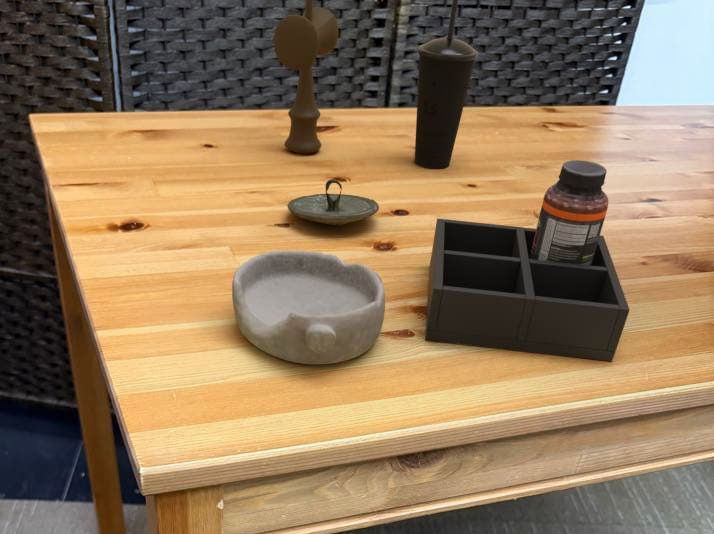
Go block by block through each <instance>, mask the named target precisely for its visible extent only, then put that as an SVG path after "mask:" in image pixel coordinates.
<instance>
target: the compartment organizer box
mask: <svg viewBox="0 0 714 534" xmlns="http://www.w3.org/2000/svg"><path fill="white" fill-rule="evenodd" d="M536 229H537V228H532V227H524V226H516V225H515V226H514V225H505V224H495V223H486V222H485V223H484V222H475V221H467V220H458V219H457V220H456V219H447V218H445V219H444V218H436V222H435V230H434V236H433V242H432V249H431V253H430V254H431V255H430V262H429V270H428V271H429V272H428V286H427V287H428V289H427V304H426V319H425V320H426V321H425V334H424V335H425V337H424V340H425V341H428V342H429V341H430V342H437V343H446V344H456V345H463V346H471V347H472V346H473V347H481V348H490V349H499V350H506V351H515V350H516V351H517V352H525V353H534V354H543V355H551V356H560V357H561V356H562V357H569V358H577V359H586V360H587V359H588V360H595V361H604V362H613V360H614V357H615V355H616V351H617V348H618V345H619V343H620V339H621V337H622V334H623V332H624V331H623V330H624V328H625V325H626V322H627V319H628V316H629V313H630V307H629V304H628V301H627V299H626V296H625V293H624V290H623V286H622V284H621V282H620V279H619V276H618V273H617V271H616V270H617V269H616V268H615V265H614V262H613V259H612V256H611V254H610V250H609V248H608V245H607V242H606V239H605V237H604V235H602V234H600V237H599V240H598V243H597V247H596V250H595V253H594V257H593V260H592V264H591V266H590V265H580V264H571V263H562V262H552V261H543V260H534V259H530V254H531V250H532V246H533V242H534V237H535V233H536ZM516 351H515V352H516Z"/></svg>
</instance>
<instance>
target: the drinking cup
mask: <svg viewBox="0 0 714 534" xmlns="http://www.w3.org/2000/svg"><path fill="white" fill-rule="evenodd" d="M458 3H459V0H452V3H451V9H450V17H449V22H448V30H447V37H439V38H435V39H432V40H429V41H428V42H426V43H424V44H421V45H419V46H418V47H417V53H418V54H419V56H418V79H417V81H418V82H417V98H416V99H417V100H416V101H417V102H416V118H415V119H416V122H415V123H416V124H415V142H414V144H415V145H414V163H415V164H416V165H417V166H419V167H421V168H426V169H432V170H433V169H434V170H435V169H436V170H439V169H440V170H441V169H446V168H448V167H449V166H450V164H451V160H452V156H453V151H454V147H455V143H456V139H457V135H458V131H459V127H460V124H461V118H462V115H463V110H464V108H465V107H464V106H465V103H466V99H467V94H468V90H469V86H470V82H471V79H472V78H471V77H472V73H473V69H474V67H475V66H474V65H475V61H476V60H477V59H478V58H479V51H478V50H476V49H474V48H473V47H472V46H471V45H469V44H468V43H466V42H464V41H463V40H461V39H457V38H454V32H455V24H456V19H457V11H458V6H459V4H458Z"/></svg>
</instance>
